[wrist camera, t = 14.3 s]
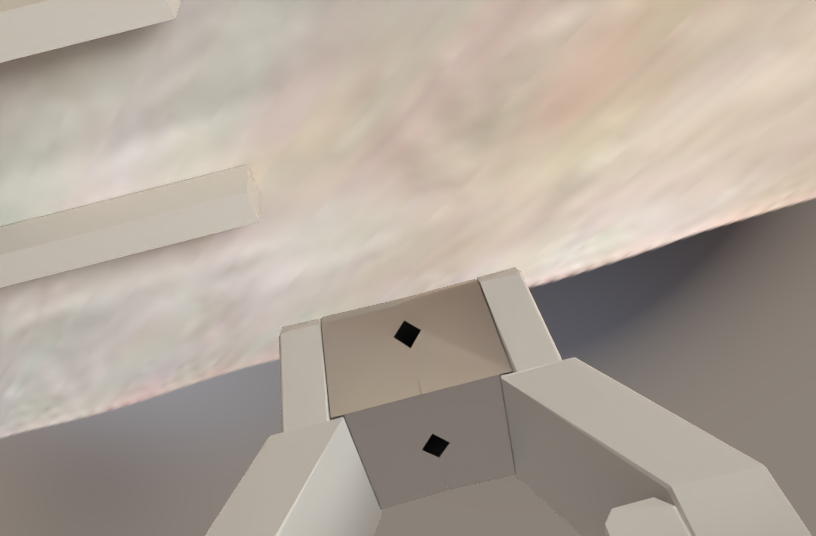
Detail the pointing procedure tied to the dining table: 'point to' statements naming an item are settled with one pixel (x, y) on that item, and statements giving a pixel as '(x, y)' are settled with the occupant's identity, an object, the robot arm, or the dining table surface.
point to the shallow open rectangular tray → (123, 216)
